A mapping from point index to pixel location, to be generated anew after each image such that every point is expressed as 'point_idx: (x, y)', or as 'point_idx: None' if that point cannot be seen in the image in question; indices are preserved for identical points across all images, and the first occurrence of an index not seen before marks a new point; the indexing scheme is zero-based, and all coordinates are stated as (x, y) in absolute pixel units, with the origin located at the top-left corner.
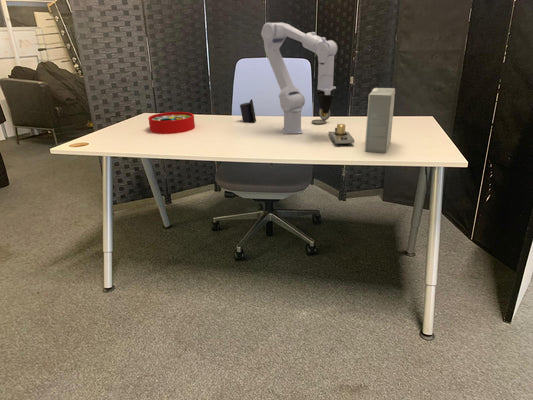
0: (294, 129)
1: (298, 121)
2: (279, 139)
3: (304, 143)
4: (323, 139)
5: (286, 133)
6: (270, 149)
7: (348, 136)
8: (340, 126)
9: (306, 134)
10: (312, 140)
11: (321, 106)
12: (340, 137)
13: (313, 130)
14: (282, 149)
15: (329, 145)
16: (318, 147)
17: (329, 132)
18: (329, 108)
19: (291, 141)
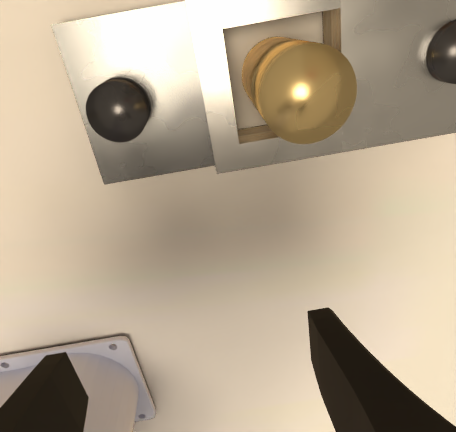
0: (130, 391)
1: (98, 423)
2: (266, 408)
3: (353, 297)
4: (258, 201)
5: (153, 403)
6: (441, 408)
7: (382, 2)
8: (352, 103)
9: (136, 310)
10: (285, 264)
11: (76, 429)
12: (409, 83)
13: (8, 282)
14: (451, 370)
15: (417, 154)
16: (451, 218)
17: (132, 175)
18: (364, 347)
19: (307, 358)
